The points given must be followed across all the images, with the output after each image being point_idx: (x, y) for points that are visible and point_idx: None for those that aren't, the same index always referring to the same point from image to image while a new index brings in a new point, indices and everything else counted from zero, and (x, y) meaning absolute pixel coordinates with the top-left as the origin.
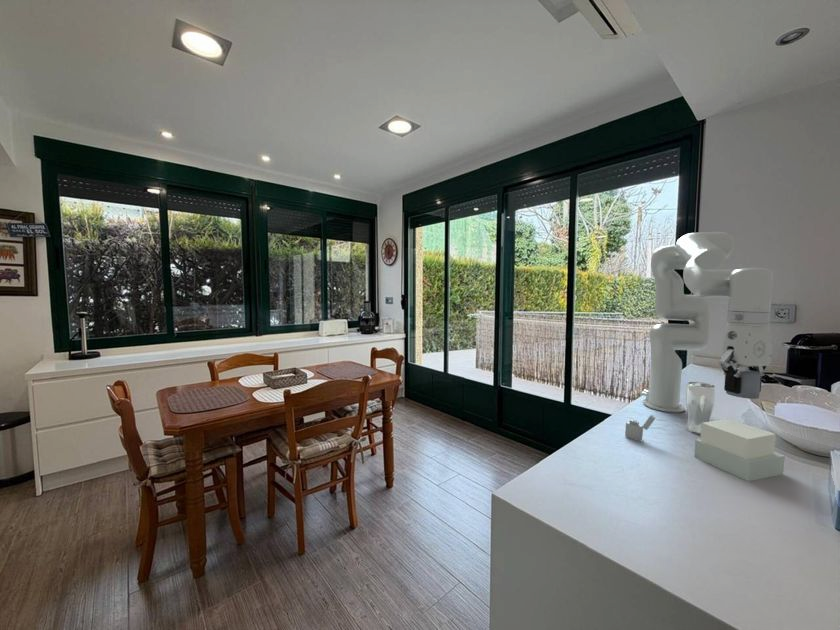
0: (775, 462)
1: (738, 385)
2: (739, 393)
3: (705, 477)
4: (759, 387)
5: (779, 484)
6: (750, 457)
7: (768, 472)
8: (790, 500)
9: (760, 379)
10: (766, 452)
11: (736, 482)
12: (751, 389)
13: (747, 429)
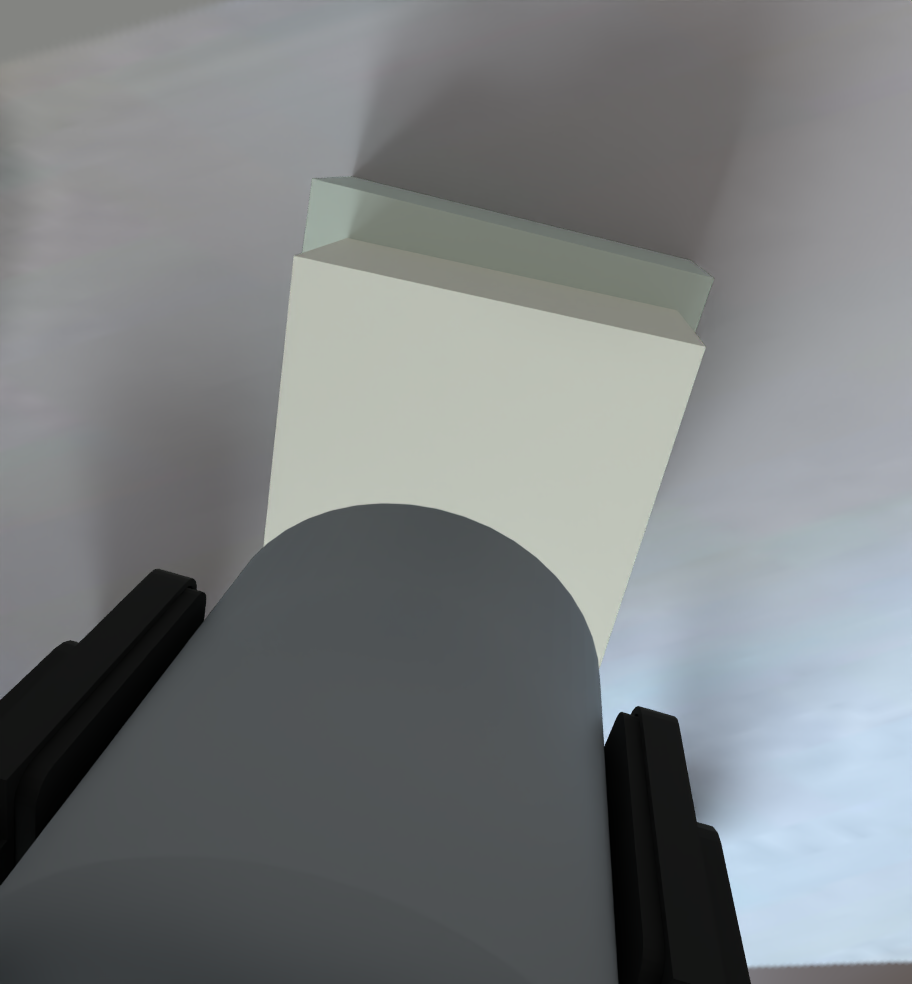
0: (423, 202)
1: (695, 837)
2: (643, 708)
3: (874, 418)
4: (338, 601)
5: (554, 134)
6: (629, 300)
7: (497, 214)
8: (767, 9)
9: (53, 721)
10: (437, 260)
11: (779, 292)
12: (530, 651)
13: (407, 432)
